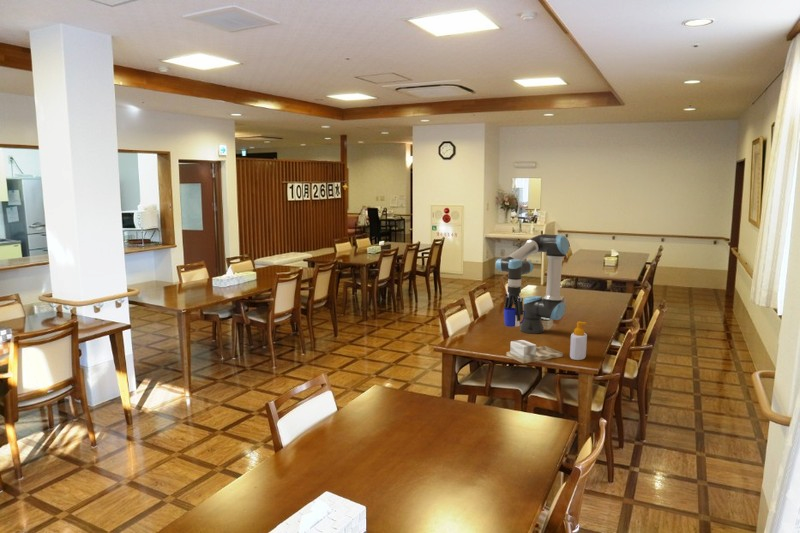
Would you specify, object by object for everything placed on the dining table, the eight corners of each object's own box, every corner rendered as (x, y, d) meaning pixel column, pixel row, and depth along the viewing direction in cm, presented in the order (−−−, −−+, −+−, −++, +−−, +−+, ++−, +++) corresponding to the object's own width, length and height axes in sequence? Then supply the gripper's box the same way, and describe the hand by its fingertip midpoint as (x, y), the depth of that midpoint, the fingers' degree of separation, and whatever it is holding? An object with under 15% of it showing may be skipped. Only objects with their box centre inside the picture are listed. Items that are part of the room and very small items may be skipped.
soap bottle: (582, 361, 302) (584, 325, 299) (567, 358, 307) (569, 323, 304) (588, 355, 314) (590, 320, 311) (573, 352, 318) (575, 318, 315)
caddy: (544, 349, 324) (545, 334, 323) (562, 356, 311) (563, 341, 310) (506, 355, 312) (506, 340, 311) (523, 363, 299) (524, 347, 297)
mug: (524, 328, 316) (525, 311, 315) (503, 327, 318) (503, 310, 317) (524, 324, 324) (525, 308, 322) (503, 323, 326) (504, 307, 325)
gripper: (498, 283, 326) (497, 321, 329) (520, 289, 308) (518, 329, 311) (509, 282, 329) (507, 319, 332) (530, 288, 311) (529, 327, 314)
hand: (512, 324), depth 322 cm, fingers closed on mug, 8 cm apart
